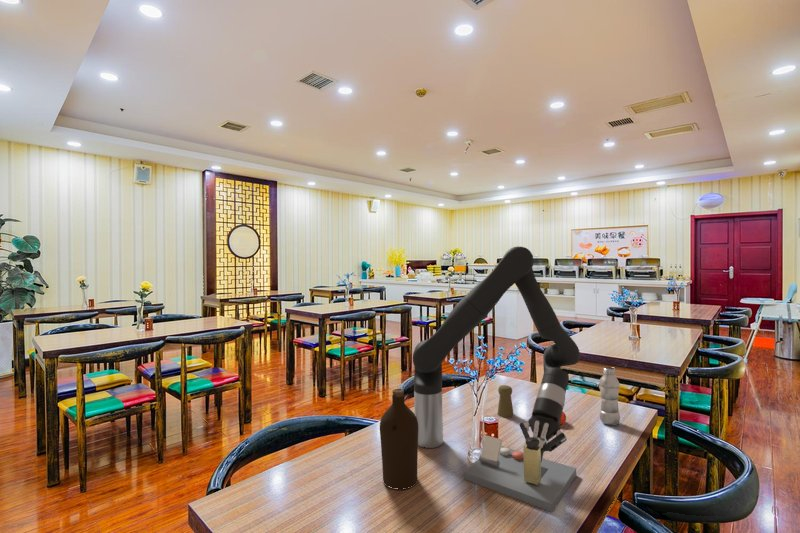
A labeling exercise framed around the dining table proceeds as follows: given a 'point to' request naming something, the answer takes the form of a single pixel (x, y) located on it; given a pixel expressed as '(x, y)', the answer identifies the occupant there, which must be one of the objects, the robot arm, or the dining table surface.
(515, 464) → the control board
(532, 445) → the slide lever
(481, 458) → the cream rectangular block
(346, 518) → the dining table surface
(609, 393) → the plastic bottle
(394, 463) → the olive oil
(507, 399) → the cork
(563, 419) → the pumpkin
